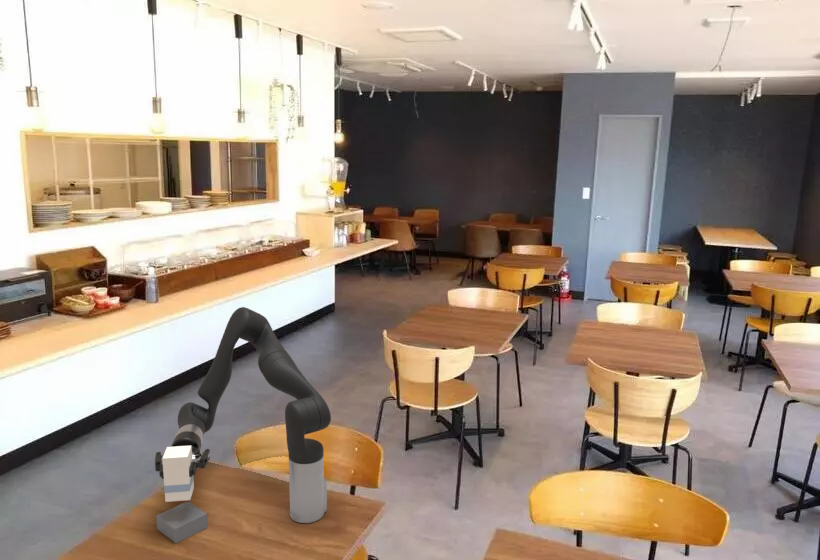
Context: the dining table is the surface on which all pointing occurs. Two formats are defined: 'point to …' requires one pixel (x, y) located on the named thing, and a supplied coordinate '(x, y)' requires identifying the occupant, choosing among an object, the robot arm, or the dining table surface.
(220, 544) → the dining table surface
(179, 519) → the block
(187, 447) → the milk carton
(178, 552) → the dining table surface
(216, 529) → the dining table surface
